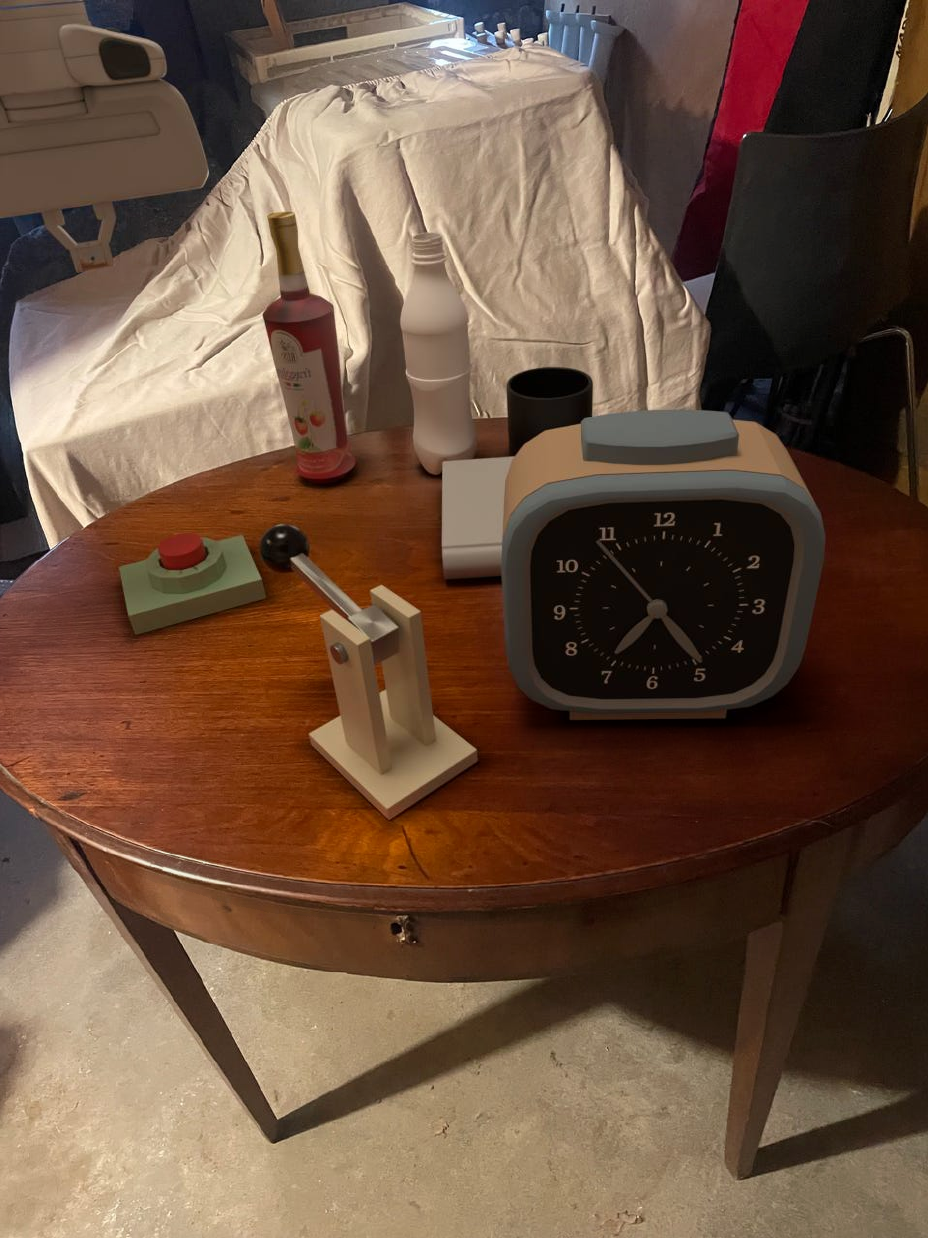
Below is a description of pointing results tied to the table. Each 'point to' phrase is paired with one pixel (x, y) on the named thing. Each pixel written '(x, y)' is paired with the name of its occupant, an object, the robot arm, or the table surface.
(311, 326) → the liquor
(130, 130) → the robot arm
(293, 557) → the lever
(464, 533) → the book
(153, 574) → the button box
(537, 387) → the mug
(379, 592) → the bracket
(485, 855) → the table surface
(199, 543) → the button
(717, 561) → the alarm clock
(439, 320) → the water bottle
